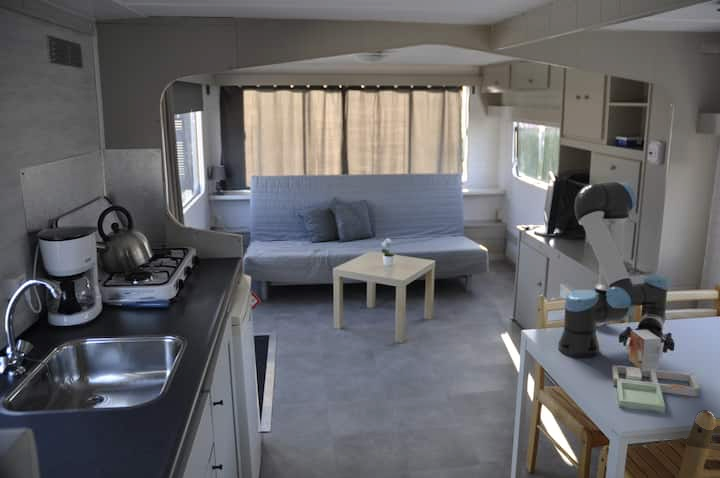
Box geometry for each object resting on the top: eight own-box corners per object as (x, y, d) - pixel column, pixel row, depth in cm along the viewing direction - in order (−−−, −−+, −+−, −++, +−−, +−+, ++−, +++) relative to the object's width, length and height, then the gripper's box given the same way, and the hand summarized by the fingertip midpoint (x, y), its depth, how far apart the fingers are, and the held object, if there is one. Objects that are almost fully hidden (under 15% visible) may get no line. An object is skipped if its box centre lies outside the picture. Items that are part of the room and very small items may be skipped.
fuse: (626, 384, 207) (627, 375, 206) (625, 375, 213) (625, 366, 213) (641, 386, 205) (641, 377, 205) (639, 377, 212) (640, 368, 211)
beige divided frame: (613, 385, 206) (614, 378, 205) (612, 371, 217) (612, 364, 216) (699, 396, 197) (700, 388, 197) (693, 381, 208) (694, 373, 208)
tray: (619, 407, 192) (619, 400, 191) (616, 386, 205) (617, 380, 205) (664, 413, 187) (665, 406, 187) (659, 392, 201) (659, 385, 200)
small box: (628, 360, 197) (630, 330, 195) (645, 359, 197) (647, 329, 195) (641, 370, 189) (644, 339, 187) (658, 369, 189) (661, 338, 187)
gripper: (684, 343, 202) (681, 368, 183) (615, 333, 213) (605, 356, 194) (686, 322, 201) (683, 345, 182) (617, 312, 211) (607, 334, 192)
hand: (643, 351), depth 188 cm, fingers closed on small box, 9 cm apart
